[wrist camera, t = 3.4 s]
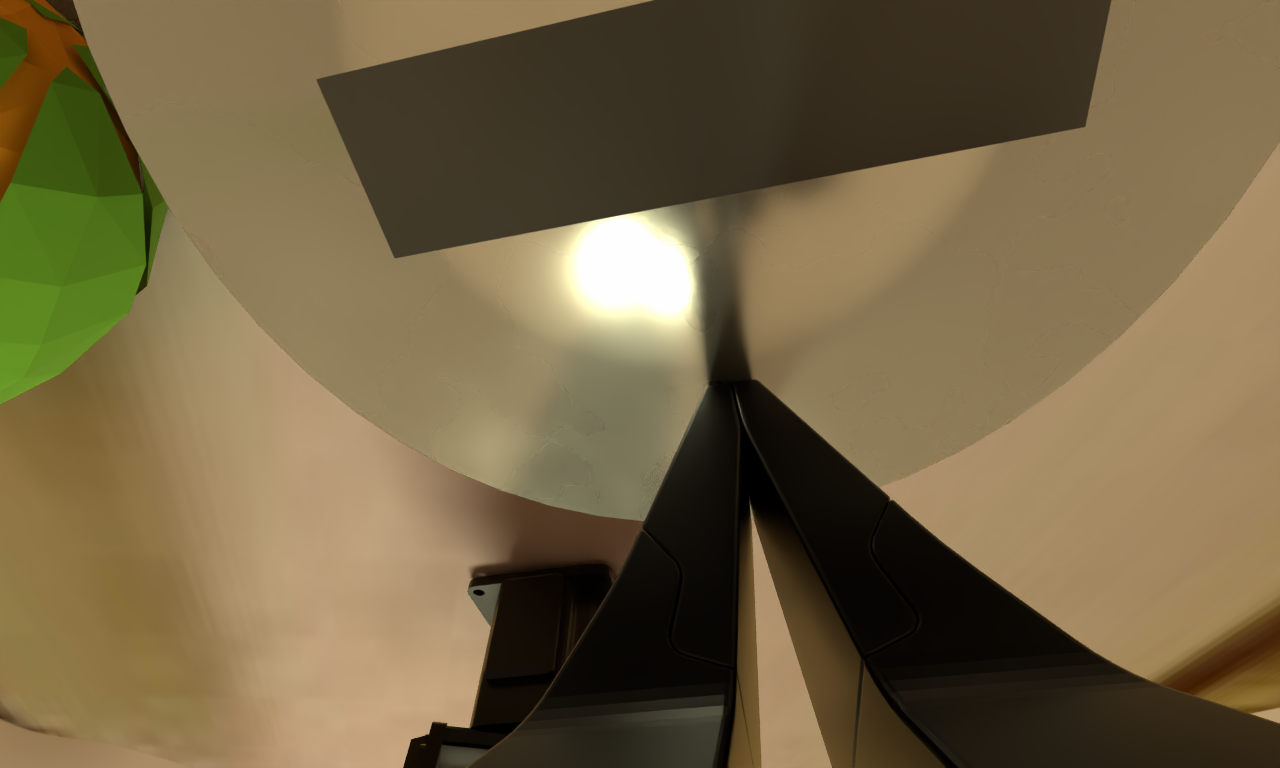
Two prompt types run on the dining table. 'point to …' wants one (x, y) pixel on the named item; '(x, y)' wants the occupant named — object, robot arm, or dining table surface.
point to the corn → (63, 200)
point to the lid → (691, 205)
